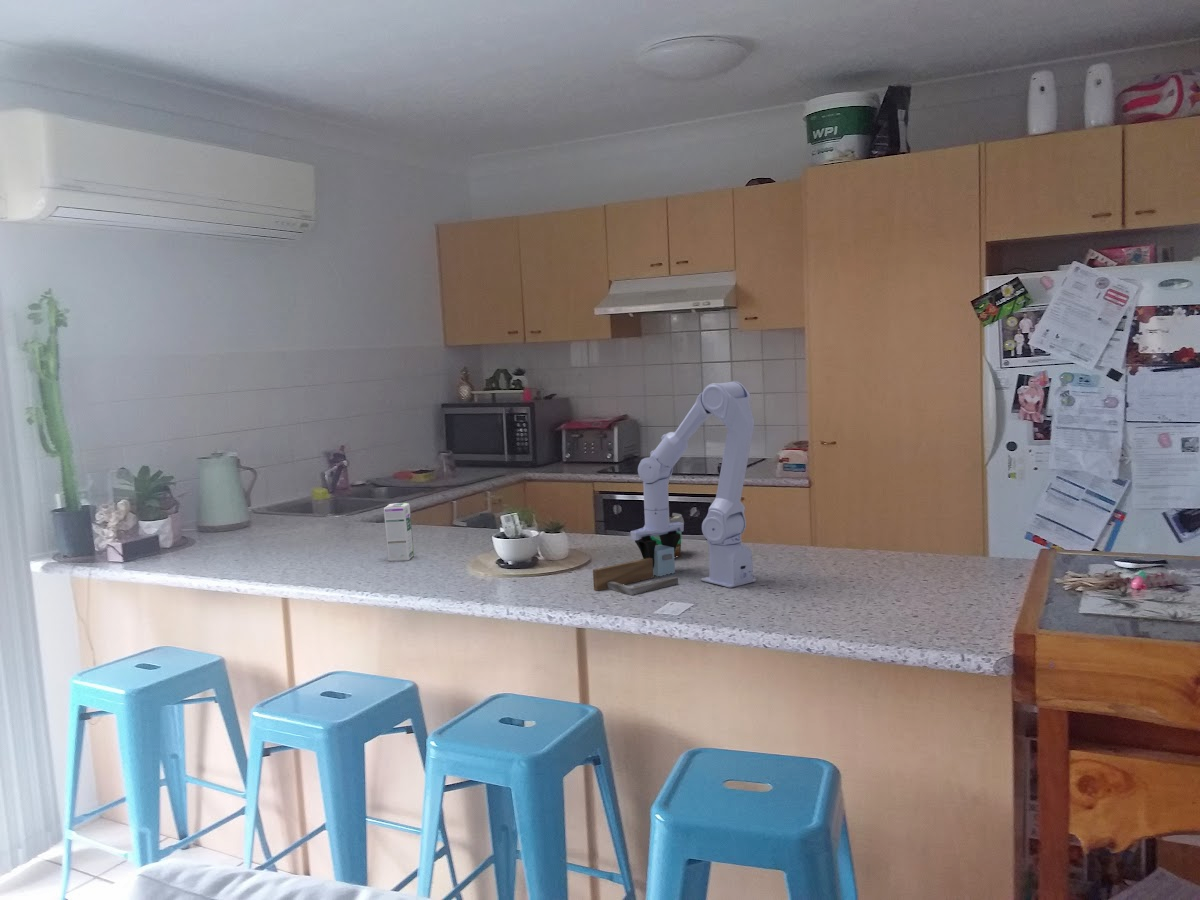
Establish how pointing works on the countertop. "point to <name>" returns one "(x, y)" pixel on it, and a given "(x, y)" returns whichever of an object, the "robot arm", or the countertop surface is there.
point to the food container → (675, 519)
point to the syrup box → (398, 532)
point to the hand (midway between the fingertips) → (658, 565)
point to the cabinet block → (663, 560)
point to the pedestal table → (629, 577)
